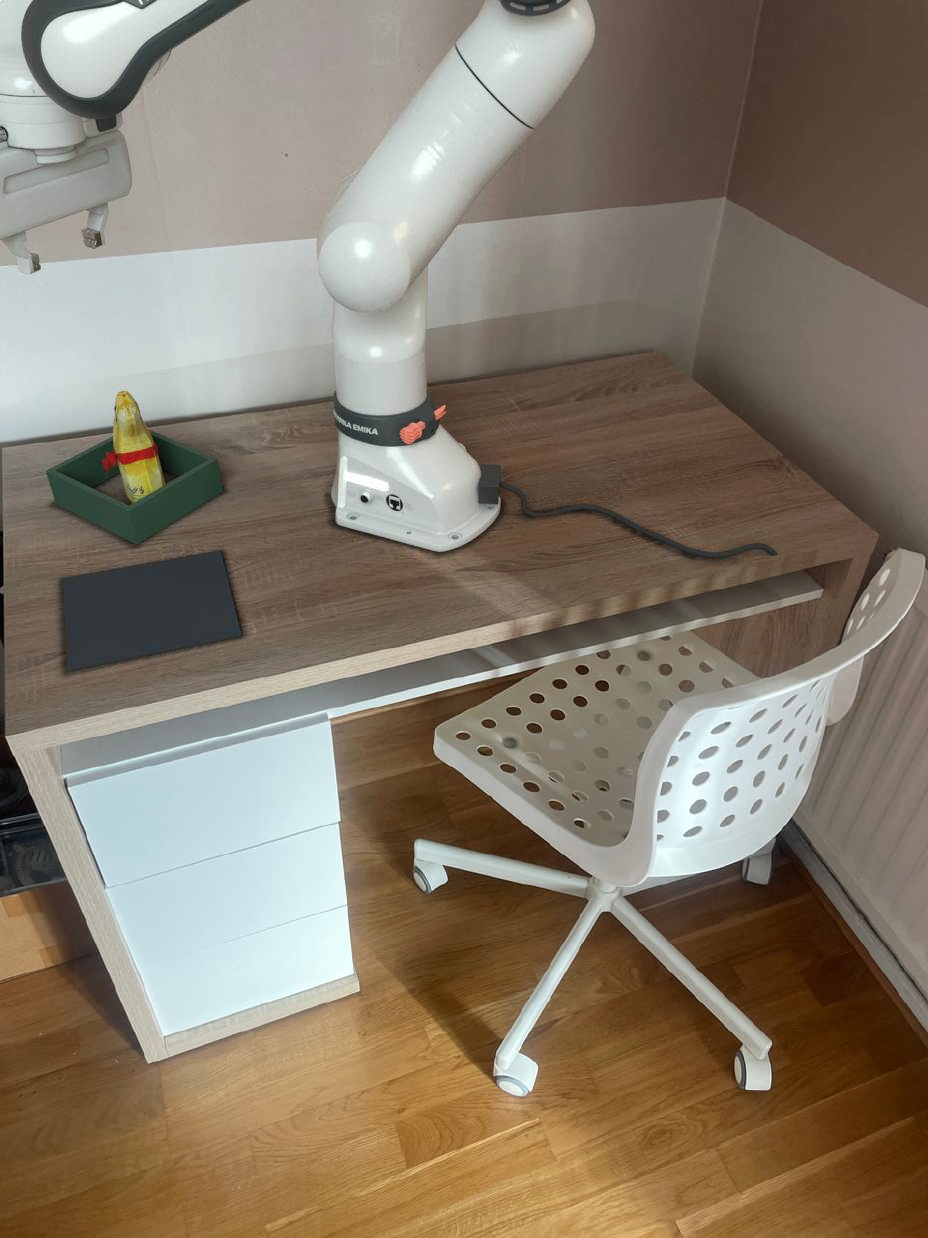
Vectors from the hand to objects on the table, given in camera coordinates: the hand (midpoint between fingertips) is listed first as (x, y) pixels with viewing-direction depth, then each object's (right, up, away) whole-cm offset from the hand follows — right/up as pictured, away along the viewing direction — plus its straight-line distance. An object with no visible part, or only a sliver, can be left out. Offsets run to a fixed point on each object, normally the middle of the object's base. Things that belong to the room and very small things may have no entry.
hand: (63, 258), depth 105 cm
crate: (+1, -23, +21) cm, 31 cm away
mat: (+8, -38, +4) cm, 39 cm away
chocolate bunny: (+1, -23, +21) cm, 31 cm away
